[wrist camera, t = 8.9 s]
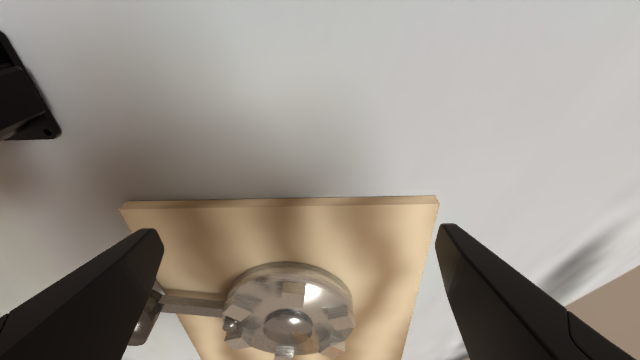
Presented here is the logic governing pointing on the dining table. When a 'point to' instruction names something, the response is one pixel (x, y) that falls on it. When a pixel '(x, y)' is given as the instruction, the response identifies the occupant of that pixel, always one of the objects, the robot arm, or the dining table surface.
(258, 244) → the base plate
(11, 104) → the robot arm
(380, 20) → the dining table surface
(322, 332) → the gear crank handle
